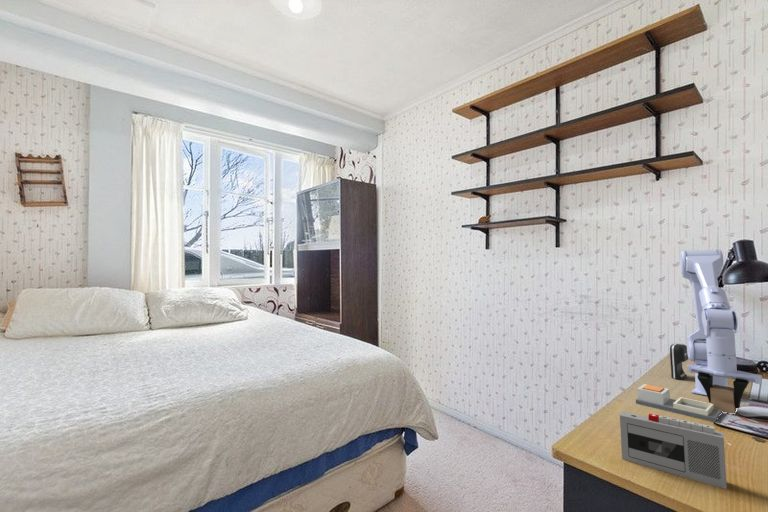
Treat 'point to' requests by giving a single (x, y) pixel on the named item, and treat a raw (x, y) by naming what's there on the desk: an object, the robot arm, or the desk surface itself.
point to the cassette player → (674, 447)
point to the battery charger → (678, 360)
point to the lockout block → (723, 398)
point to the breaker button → (653, 388)
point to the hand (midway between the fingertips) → (724, 404)
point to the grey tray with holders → (677, 404)
